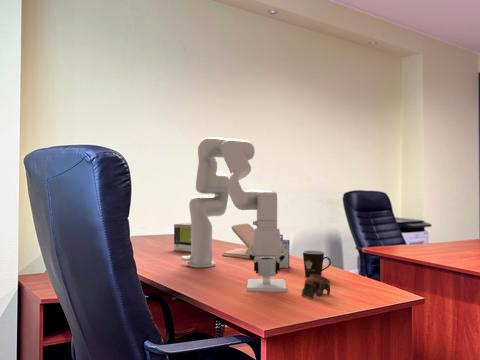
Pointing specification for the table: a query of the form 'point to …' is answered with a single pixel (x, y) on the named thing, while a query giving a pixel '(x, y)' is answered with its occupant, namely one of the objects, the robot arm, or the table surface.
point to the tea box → (182, 237)
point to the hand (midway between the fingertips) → (266, 272)
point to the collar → (267, 266)
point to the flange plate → (266, 285)
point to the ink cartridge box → (286, 245)
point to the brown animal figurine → (315, 286)
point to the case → (246, 236)
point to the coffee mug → (314, 262)
